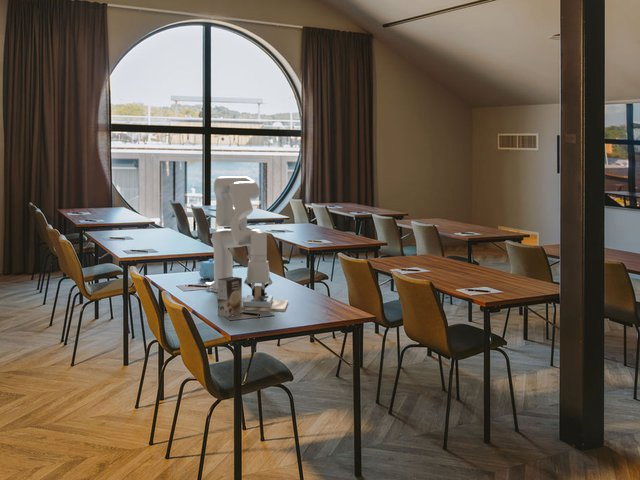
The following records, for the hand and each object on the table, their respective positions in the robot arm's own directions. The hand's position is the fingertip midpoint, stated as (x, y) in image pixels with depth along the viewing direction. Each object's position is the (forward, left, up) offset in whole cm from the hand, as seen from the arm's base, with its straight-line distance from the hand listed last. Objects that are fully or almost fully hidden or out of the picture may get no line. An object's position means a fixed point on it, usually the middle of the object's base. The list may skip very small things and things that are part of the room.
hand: (258, 297), depth 325 cm
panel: (0, 0, -3) cm, 3 cm away
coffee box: (-10, -17, -5) cm, 21 cm away
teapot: (-34, +68, -5) cm, 76 cm away
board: (+2, 0, -4) cm, 5 cm away
